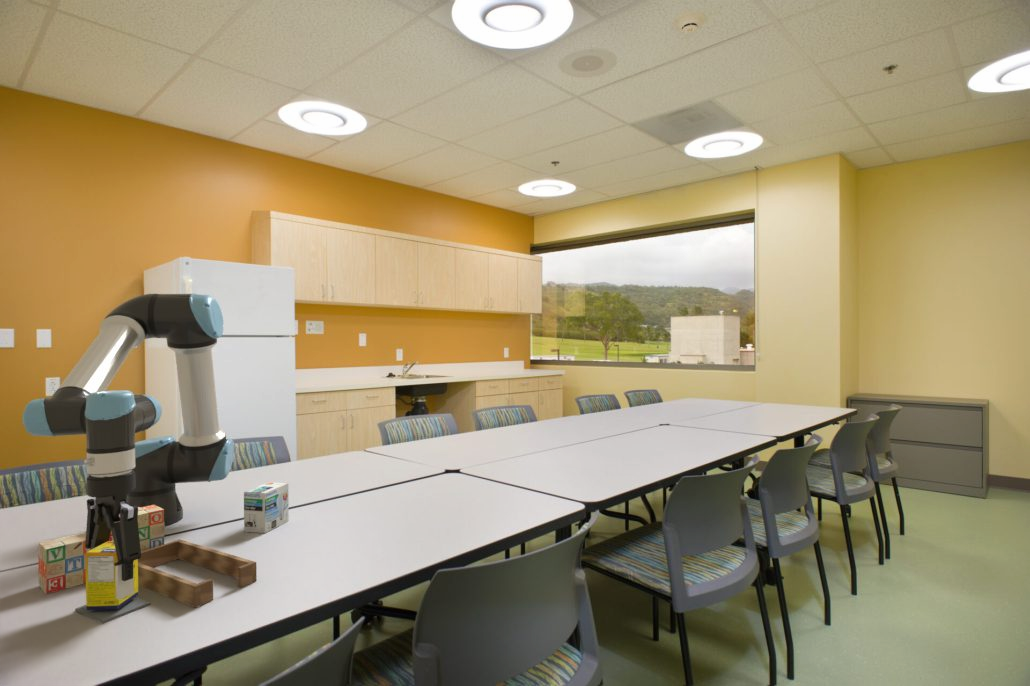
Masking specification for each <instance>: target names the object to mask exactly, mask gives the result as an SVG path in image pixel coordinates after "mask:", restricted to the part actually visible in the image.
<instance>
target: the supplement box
mask: <svg viewBox="0 0 1030 686" xmlns="http://www.w3.org/2000/svg"><path fill="white" fill-rule="evenodd" d="M116 562H118V558H117V553H116V549H115V544H114V541H107V542H105V543H103V544H101V545H99V546H97V547H95V548H93V549H91V550H89V551H88V552H86V553H85V563H86V583H85V599H86V600H85V601H86V602H85V603H86V604H85V605H86V606H87V610H104V609H119V608H121V607H122V606H124V605H125V604H126V603H128V602H129V601H130V600H132V599H133V598H135V597H138V596H139V585H138V559H136V560H134V561H133V562H134V594H132V595H129V596H126V597H124V598H121V599H116V572H115V565H114V563H116Z"/></svg>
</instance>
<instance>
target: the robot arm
mask: <svg viewBox="0 0 1030 686" xmlns="http://www.w3.org/2000/svg"><path fill="white" fill-rule="evenodd" d="M223 333H224V317H223V312H222V309H221V307H220V304H219V303H218V301H217V300H216V299H215V298H214V297H213V296H212V295H210V294H197V293H146V294H141V295H137V296H134V297H133V298H131V299H128V300H126V301H124V302H122V303H121V304H119V305H118V306H116V307H115V308H113V310H111V311H110V312H109V313H108V314H107V315H105V317H104V319H102V321H101V322H100V325H99V333H98V334H97V336H96V337H95V338H94V340H93V341H92V343H91V344H90V345H89V347H88V348H87V349H86V350H85V352H84V353H83V354H82V356H81V358H79V360H78V361H77V362H76V364H75V365H74V367H73V368H72V369H71V370H70V372H69V373H68V374H67V376H66V377H65V378H64V379H63V381H62V382H61V384H60V385H59V387H58V388H57V389H56V390H55V391H54V393H53V394H52V395H51V397H49V398H47V397H43V398H36V399H33V400H31V401H29V402H28V403H27V404H26V406H25V407H24V410H23V412H22V413H23V414H22V423H23V426H24V428H25V431H26V432H27V433H28V434H29V435H32V436H35V437H60V436H62V437H63V436H64V437H65V436H78V435H79V436H80V435H83V436H84V435H86V437H85V438H86V440H85V441H86V442H85V443H86V451H85V452H86V459H84V460H83V462H84V464H85V465H86V473H87V474H89V475H88V476H87V477H86V495H87V496H88V497H89V499H87V500H86V507H87V508H86V510H87V517H86V528H85V529H86V531H85V532H86V542H85V548H86V549H89V548H90V550H91V549H93V548H95V547H97V546H99V545H101V544H103V543H105V542H107V541H109V538H110V533H111V531H112V535H113V540H114V544H115V549H116V553H117V558H118V562H116V563H114V565H115V572H116V599H121V598H124V597H126V596H129V595H132V594H134V562H133V561H134V560H136V559H139V558H141V549H140V539H139V529H138V519H137V517H138V507H145V506H150V505H156V506H158V507H160V508H162V509H164V523H165V524H164V525H165V527H166V526H169V525H172V524H174V523H178V522H179V521H181V520H182V519H183V518H184V509H183V506H182V503H181V502H180V499H179V496H178V494H177V491H176V484H185V483H187V484H188V483H202V482H203V483H204V482H205V483H207V482H208V483H211V482H214V481H215V482H216V481H222V480H224V479H227V478H228V476H229V473H230V472H231V469H232V465H233V461H234V454H235V442H234V440H233V439H232V438H227V434H226V431H225V430H224V429H223V428H220V426H219V416H218V414H219V413H218V404H217V403H218V402H217V396H216V383H215V374H214V373H215V371H214V361H213V352H212V349H213V347H214V346H215V345H216V344H218V339H219V338H221V337H222V336H223ZM149 339H166V345H167V348H169V349H171V350H172V351H173V352H174V356H175V365H176V371H177V372H176V373H177V381H178V382H177V383H178V390H179V399H180V400H179V401H180V406H181V407H180V408H181V416H182V425H183V433H182V434H181V436H179V438H178V441H176V440H177V439H176V437H175V436H173V435H166V436H165V435H164V436H160V437H159V436H158V437H153V438H148V439H143V440H139V441H136V434H137V433H140V432H144V431H147V430H149V429H151V427H153V426H155V425H156V424H157V423H158V422H159V421H160V419H161V416H162V412H163V411H162V406H161V403H160V402H159V400H158V399H157V398H156V397H153V396H151V395H149V394H134V393H133V392H132V391H131V390H119V389H118V390H117V389H116V390H107V389H108V388H109V386H110V384H111V383H112V381H113V380H114V378H115V377H116V375H117V373H118V372H119V370H120V369H121V368H122V366H123V365H124V363H125V361H126V359H127V358H128V357H129V355H130V353H131V352H132V350H133V349H134V348H136V347H139V346H140V345H141V344H142V343H143V342H144V340H149ZM119 521H120V522H119ZM115 522H117V523H115ZM91 540H92V541H91Z"/></svg>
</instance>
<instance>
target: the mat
mask: <svg viewBox="0 0 1030 686" xmlns="http://www.w3.org/2000/svg"><path fill="white" fill-rule="evenodd" d="M150 605H151V602H149V601H147V600H145V599H142V598H139V597H138V596H136V597H135V598H133V599H132V600H130V601H129V602H128V603H126V604H125V605H124V606H122V607H121V608H119V609H104V610H87V606H86V604H84V605H82V606H77V607H76V608H75V611H76V612H77V613H80V614H82V615H84V616H86V617H88V618H91V619H92V620H94V621H96V622H99V623H101V624H102V625H103V624H105V623H107V622H110V621H112V620H116V619H117V618H120V617H122V616H125V615H128V614H130V613H133V612H134V611H135V612H136V611H137V610H138V611H139V609H142V608H146V607H148V606H150Z"/></svg>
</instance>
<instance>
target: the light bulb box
mask: <svg viewBox="0 0 1030 686" xmlns="http://www.w3.org/2000/svg"><path fill="white" fill-rule="evenodd" d="M289 505H290V504H289V483H287V482H286V483H285V482H272V481H268V482H266V483H262V484H260V485H258V486H256V487H253V488H251V489H247V490H246V491H244V492H243V524H244V525H243V532H248V533H259V534H266V533H268V532H270V531H272V530H274V529H276V528H278V527H280V526H282V525H283V524H286V523H287V522H289V520H290V519H289V517H290V516H289V515H290V514H289V510H290V508H289Z"/></svg>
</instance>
